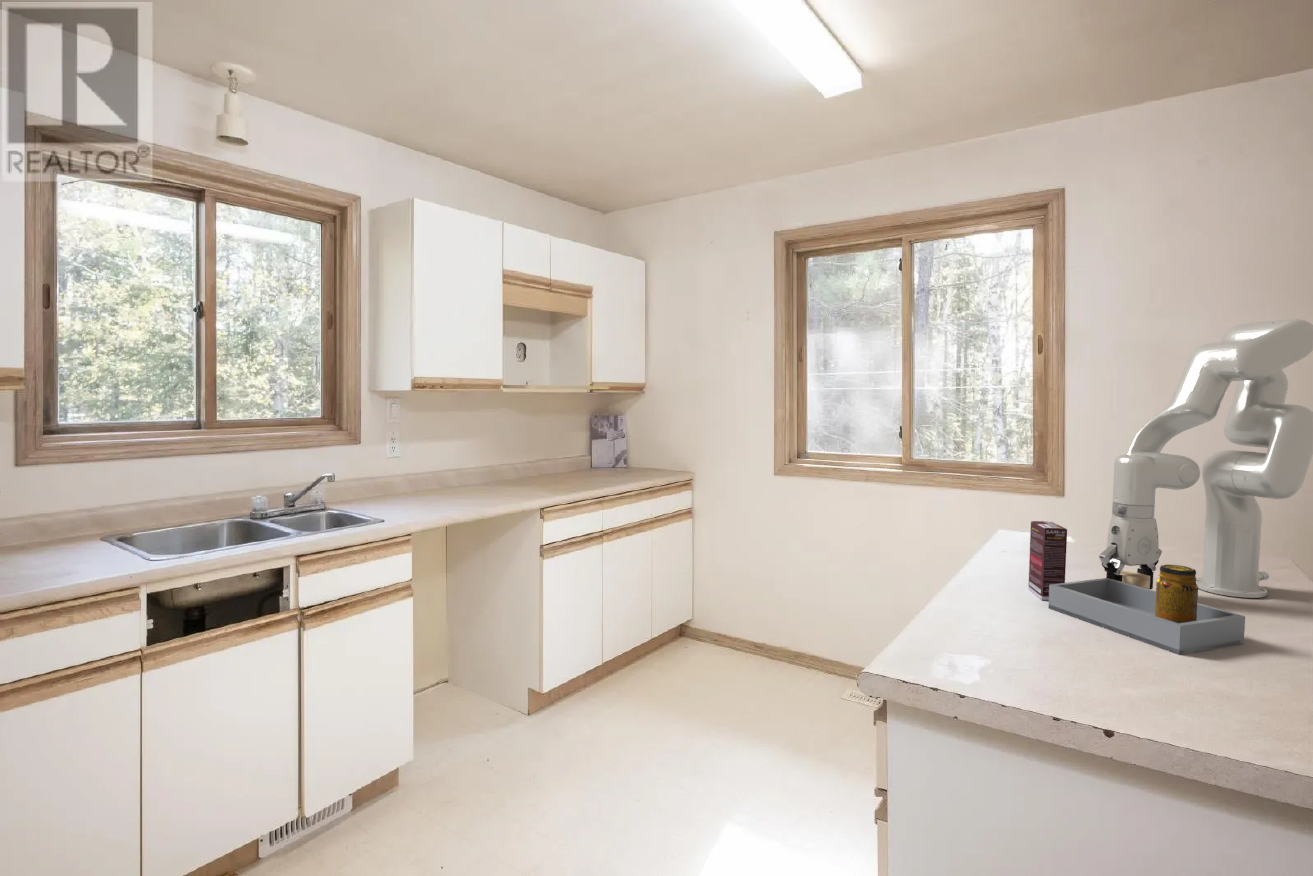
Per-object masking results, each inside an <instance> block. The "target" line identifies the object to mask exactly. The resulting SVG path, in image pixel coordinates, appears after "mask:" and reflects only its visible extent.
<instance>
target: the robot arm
mask: <svg viewBox="0 0 1313 876" xmlns="http://www.w3.org/2000/svg"><path fill="white" fill-rule="evenodd" d="M1311 353H1313V324H1312V323H1311V322H1309V321H1307V320H1304V319H1300V318H1299V319H1298V318H1292V319H1291V318H1290V319H1281V320H1280V319H1279V320H1269V321H1260V322H1259V321H1257V322H1251V323H1250V322H1249V323H1243V324H1239V325H1238V324H1237V325H1234V326H1232V327H1230V328H1228V329H1226V331H1225V332H1224V333H1223V335H1222V337H1221V340H1220V342H1213V343H1206V344H1203V345H1200V346H1198V347H1196V348H1195V349H1194V350H1193V351H1192V353H1191V354H1190V356H1189V358H1188V360H1187V362H1186V364H1185V367H1184V369H1183V371H1182V373H1181V376H1180V378H1179V380H1178V383H1177V385H1176V388H1175V391H1174V392H1173V394H1172V397H1171V400H1170V401H1169V403H1168V405H1167V406H1166V407H1165V408H1164V409H1162V410H1161V411H1160V412H1159V413H1158V414H1156V415H1154V417H1152V418H1151V419H1150V420H1148V422H1147V423H1145V425H1143V426H1142V427H1141V428H1140V429H1139V430H1138V431H1137V433H1136V434H1135V436H1134V438H1133V440H1132V442H1131V444H1130V446H1129V449H1128V451H1127V454H1122V455H1118V456H1116V458H1115V459H1114V466H1113V483H1112V486H1113V487H1112V503H1111V504H1112V507H1111V509H1112V510H1111V518H1110V522H1109V526H1108V532H1107V539H1106V540H1107V541H1106V549H1104V550H1103V551H1102V552H1101V553H1100V554H1099V556H1098V557H1099V559H1100V561H1101V562H1100V563H1101V566H1102V567H1103V570H1104V572H1105V573H1106V577H1105V578H1110V579H1113V580H1117V581H1120V582H1122V575H1120V573H1121V571H1123V569H1124V568H1125V566H1129V567H1132V566H1133V567H1134V566H1139V567H1138V568H1137V569H1136V570H1137V571H1136V572H1137V573H1140V574H1144V575H1148V576H1150V590H1153V589H1154V574H1155V573H1154V572H1155V571H1156V570H1157V567H1156V566H1157V564H1158V563H1159V559H1160V557H1161V555H1162V552H1163V551H1162V549H1160V548H1159V546H1160V545H1159V528H1158V523H1157V519H1156V518H1155V509H1156V505H1155V503H1156V489H1168V490H1175V491H1179V490H1180V491H1181V490H1185V489H1189V488H1190V487H1193V486H1194V485H1196V483H1197V482H1198V481H1199V480H1200V477H1201V475H1202V482H1203V488H1204V493H1205V517H1204V518H1205V520H1204V539H1203V540H1204V541H1203V560H1202V561H1203V562H1202V577H1198V578H1197V577H1196V584H1197V586H1198V590H1201V591H1205V592H1207V593H1208V592H1209V593H1212V594H1217V595H1222V596H1228V597H1233V598H1244V599H1245V598H1246V599H1261V598H1264V597H1266V596H1267V595H1268V590H1267V589H1266V588H1265V587H1263V586H1261V585H1260V583H1259V582H1260V581H1261V582H1262V581H1267V580H1268V579H1269V577H1270V575H1269V573H1268V572H1267V571H1264V570H1263V571H1260V569H1259V568H1260V556H1261V555H1260V554H1261V552H1260V551H1261V535H1262V521H1263V520H1262V519H1263V518H1262V510H1261V508H1260V505H1259V503H1258V501H1257V499H1256V498H1255V497H1257V498H1265V499H1271V500H1284V499H1289V498H1291V497H1293V496H1295V495H1296V494H1297V493H1298V492H1299V490H1300V489H1301V488H1302V487H1303V486H1302V485H1303V484H1304V481H1305V480H1306V479H1305V478H1306V477H1307V476H1306V475H1307V473H1308V469H1309V467H1310V464H1311V461H1312V458H1313V411H1312V410H1311V409H1310V408H1308V407H1306V406H1302V405H1300V404H1299V405H1298V404H1289V403H1288V404H1286V403H1285V402H1286V397H1287V393H1288V389H1289V380H1288V378H1287V375H1286V373H1285V372H1284V369H1285V368H1288V367H1289V366H1291V365H1294V364H1295V363H1297V362H1299V361H1302V360H1303V359H1304V358H1307V357H1308V356H1309V355H1310V354H1311ZM1232 382H1236V388H1235V392H1234V395H1233V399H1232V401H1231V404H1230V408H1229V411H1228V415H1227V417H1226V421H1225V425H1224V429H1223V430H1224V431H1223V432H1224V436H1225V437H1226V439H1227V440H1228V441H1229V442H1231V444H1232V443H1233V444H1235V445H1238V446H1243V447H1244V446H1245V447H1252V448H1253V447H1255V448H1265V449H1266V452H1257V451H1248V450H1235V449H1232V450H1231V449H1228V450H1220V451H1216V452H1214V453H1212V454H1210V455H1208V456H1207V458H1205V459H1204V461H1203V464H1202V466H1201V467H1202V468H1201V469H1200V467H1199V465H1198V463H1197V462H1196V461H1195V460H1193V459H1192V458H1190V457H1187V456H1185V455H1179V454H1172V453H1163V452H1161V451H1163V449H1164V447H1165V446H1166V444H1167V443H1168V442H1169V441H1171V440H1172V439H1173V438H1175V437H1176V436H1178V435H1179V434H1181V433H1183V432H1186V431H1188V430H1191V429H1193V428H1196V427H1199V426H1201V425H1204V424H1206V423H1208V422H1211V421H1212V420H1214V418H1216V416H1217V415H1218V413H1219V410H1220V407H1221V405H1222V403H1223V400H1224V398H1225V396H1226V394H1227V392H1228V389H1229V387H1230V384H1231V383H1232ZM1115 565H1117V566H1115Z"/></svg>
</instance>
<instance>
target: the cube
mask: <svg viewBox="0 0 1313 876" xmlns="http://www.w3.org/2000/svg"><path fill="white" fill-rule="evenodd" d="M1120 575H1122V582H1124V583H1128V584H1131V585H1135V586H1138V587H1142V588H1146V589H1149V590H1151V589H1150V576H1148V575H1144V574H1140V573H1137V571H1132V570H1128V569H1127V570H1122V571H1121V573H1120Z"/></svg>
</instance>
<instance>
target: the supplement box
mask: <svg viewBox="0 0 1313 876" xmlns="http://www.w3.org/2000/svg"><path fill="white" fill-rule="evenodd" d="M1029 535H1030V536H1029V537H1030V539H1029V540H1030V542H1029V563H1028V564H1029V566H1028V567H1029V568H1028V590H1029V591H1030V592H1031V593H1032V594H1034V595H1035V596H1036V597H1037V598H1039V599H1040V600H1042V601H1048V602H1049V585H1050V584H1059V583H1066V568H1067V567H1066V566H1067V565H1066V564H1067V544H1068V543H1067V542H1068V536H1067V535H1068V529H1067V528H1066V527H1064V526H1061V525H1059V524H1058V523H1055V522H1053V521H1043V520H1042V521H1041V520H1040V521H1038V520H1033V521H1032V520H1031V521H1030V534H1029Z"/></svg>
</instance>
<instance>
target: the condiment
mask: <svg viewBox="0 0 1313 876" xmlns="http://www.w3.org/2000/svg"><path fill="white" fill-rule="evenodd" d="M1196 575H1197V571H1196V570H1195V569H1194V568H1193V567H1190V566H1185V565H1178V564H1161V565H1160V567H1159V574H1158V576H1159V578H1158V579H1157V580H1156V583H1155V586H1156V588H1155V591H1156V599H1155V600H1156V603H1155V616H1156V617H1159V618H1163V619H1166V620H1169V621H1172V622H1175V623H1185V622H1192V621H1197V620H1196V618H1197V603H1198V600H1199V599H1198V595H1199V588H1198V586H1197V584H1196V579H1197V577H1196Z"/></svg>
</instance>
